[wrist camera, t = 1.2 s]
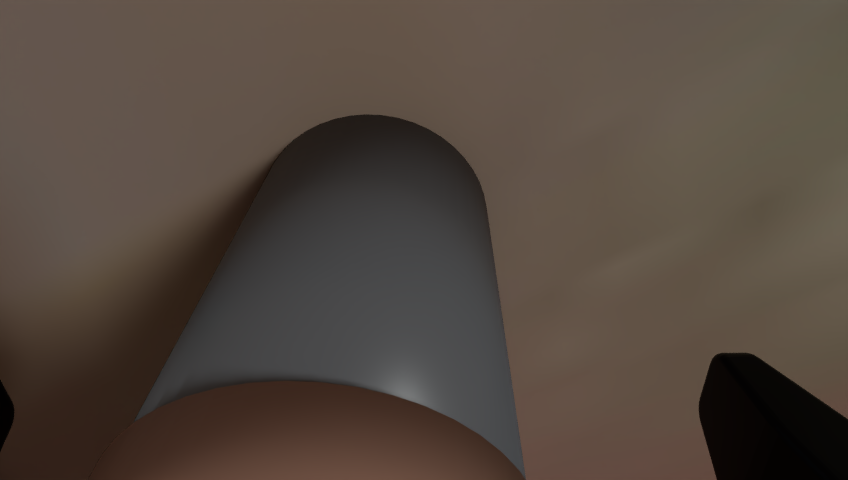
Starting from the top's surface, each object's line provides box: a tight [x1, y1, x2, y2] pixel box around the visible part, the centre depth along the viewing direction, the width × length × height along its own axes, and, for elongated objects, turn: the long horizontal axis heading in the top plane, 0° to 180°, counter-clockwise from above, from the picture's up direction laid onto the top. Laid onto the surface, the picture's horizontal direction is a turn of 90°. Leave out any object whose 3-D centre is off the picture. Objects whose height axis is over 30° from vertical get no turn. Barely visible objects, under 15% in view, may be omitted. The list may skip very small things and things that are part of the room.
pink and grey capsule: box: [88, 115, 526, 480], centre depth 7 cm, size 4×4×8 cm
